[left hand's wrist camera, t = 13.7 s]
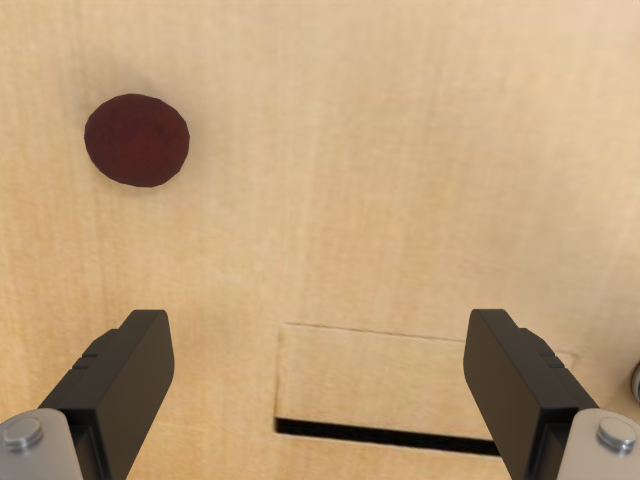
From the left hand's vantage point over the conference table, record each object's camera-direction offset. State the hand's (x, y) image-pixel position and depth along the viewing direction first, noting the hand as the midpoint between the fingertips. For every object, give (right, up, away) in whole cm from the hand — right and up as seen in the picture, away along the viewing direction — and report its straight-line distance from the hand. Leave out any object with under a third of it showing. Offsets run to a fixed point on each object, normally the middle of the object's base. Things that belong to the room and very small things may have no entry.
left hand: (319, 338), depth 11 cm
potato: (-14, +12, +27) cm, 32 cm away
